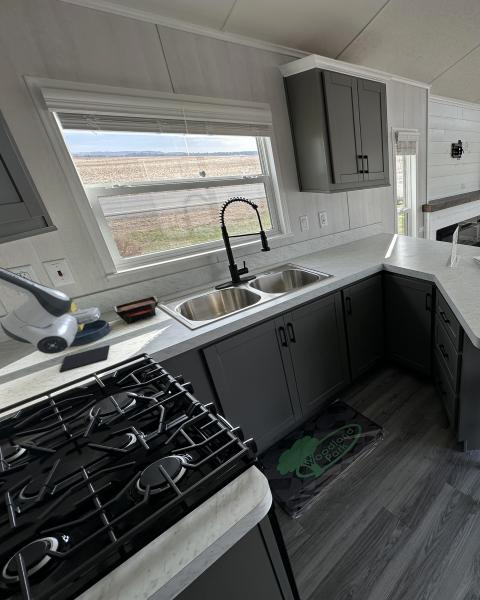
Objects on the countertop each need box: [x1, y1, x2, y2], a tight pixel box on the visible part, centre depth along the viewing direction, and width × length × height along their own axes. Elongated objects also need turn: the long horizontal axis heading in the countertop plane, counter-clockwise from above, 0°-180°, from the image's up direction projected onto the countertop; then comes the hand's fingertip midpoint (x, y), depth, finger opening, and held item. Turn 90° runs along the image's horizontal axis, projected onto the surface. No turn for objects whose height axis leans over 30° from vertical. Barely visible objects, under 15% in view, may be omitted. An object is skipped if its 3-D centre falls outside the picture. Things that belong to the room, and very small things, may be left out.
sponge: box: [67, 297, 84, 332], centre depth 130 cm, size 4×7×12 cm, turn 35°
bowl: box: [69, 318, 112, 347], centre depth 146 cm, size 17×17×4 cm
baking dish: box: [113, 295, 159, 325], centre depth 163 cm, size 14×18×10 cm
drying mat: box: [59, 344, 111, 373], centre depth 131 cm, size 14×12×1 cm
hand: (68, 313), depth 130 cm, fingers closed on sponge, 4 cm apart
